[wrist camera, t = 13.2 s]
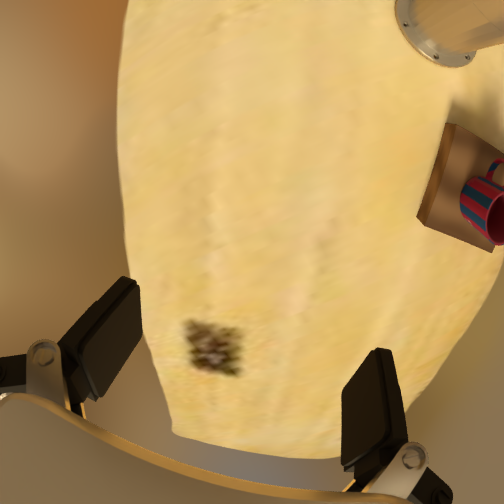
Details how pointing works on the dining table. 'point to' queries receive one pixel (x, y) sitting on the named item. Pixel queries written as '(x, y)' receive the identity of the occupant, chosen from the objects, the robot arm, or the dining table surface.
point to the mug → (485, 205)
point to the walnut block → (457, 183)
